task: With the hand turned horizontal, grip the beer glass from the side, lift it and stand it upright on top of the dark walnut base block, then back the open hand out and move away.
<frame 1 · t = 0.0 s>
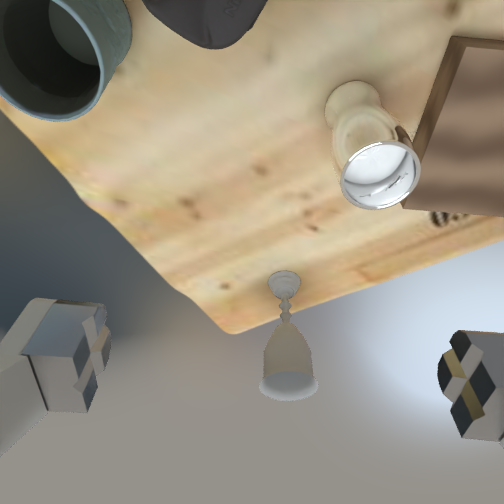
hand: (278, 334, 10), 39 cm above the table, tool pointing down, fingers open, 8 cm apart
beer glass: (351, 107, 45), on the table
chalice: (284, 281, 63), on the table
grey-green cup: (89, 24, 40), on the table
walnut base: (497, 130, 46), on the table
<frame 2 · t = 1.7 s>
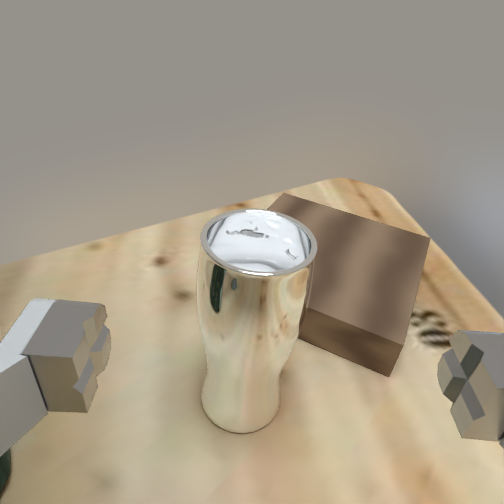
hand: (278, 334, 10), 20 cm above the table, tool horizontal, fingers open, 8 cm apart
beer glass: (240, 398, 31), on the table
walnut base: (322, 281, 44), on the table
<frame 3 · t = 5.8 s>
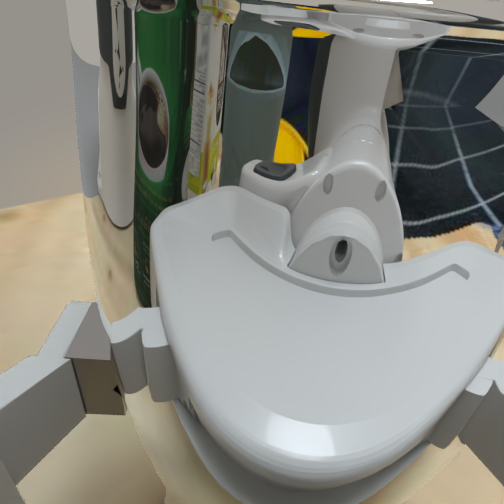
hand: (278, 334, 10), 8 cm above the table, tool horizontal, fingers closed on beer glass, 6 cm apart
when the fingers open (13 cm above the table, at t = 12.1 s): beer glass moves 2 cm, resting on walnut base.
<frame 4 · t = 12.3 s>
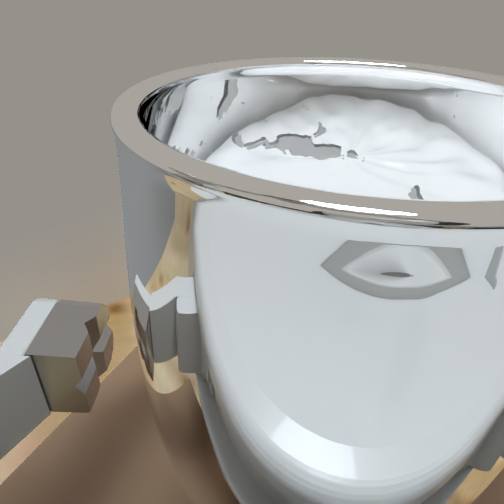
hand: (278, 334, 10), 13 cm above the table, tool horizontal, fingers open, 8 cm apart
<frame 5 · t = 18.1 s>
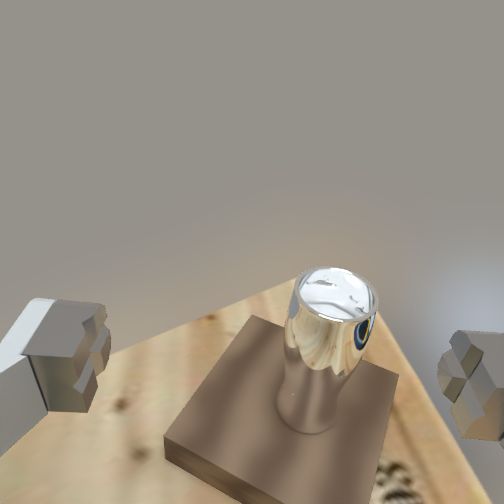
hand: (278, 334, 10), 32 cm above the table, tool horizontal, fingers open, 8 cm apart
beer glass: (305, 406, 40), point 4 cm above the table, touching walnut base
walnut base: (287, 424, 42), on the table
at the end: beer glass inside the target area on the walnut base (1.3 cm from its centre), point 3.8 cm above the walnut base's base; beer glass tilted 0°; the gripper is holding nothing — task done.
